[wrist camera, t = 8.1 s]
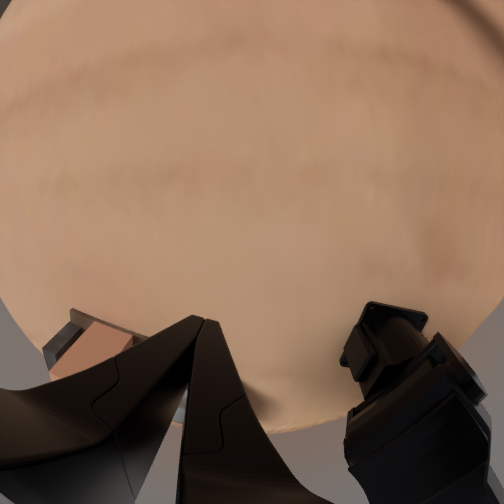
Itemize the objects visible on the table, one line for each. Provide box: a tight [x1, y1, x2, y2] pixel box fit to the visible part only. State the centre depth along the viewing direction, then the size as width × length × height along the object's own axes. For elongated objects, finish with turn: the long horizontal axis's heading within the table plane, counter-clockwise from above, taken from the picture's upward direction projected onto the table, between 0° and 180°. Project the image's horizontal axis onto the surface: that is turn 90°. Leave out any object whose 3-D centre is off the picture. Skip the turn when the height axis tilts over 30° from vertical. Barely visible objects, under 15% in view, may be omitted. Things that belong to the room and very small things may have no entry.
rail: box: [42, 308, 188, 424], centre depth 21 cm, size 16×6×5 cm, turn 76°
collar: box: [49, 321, 133, 381], centre depth 19 cm, size 4×7×8 cm, turn 166°
